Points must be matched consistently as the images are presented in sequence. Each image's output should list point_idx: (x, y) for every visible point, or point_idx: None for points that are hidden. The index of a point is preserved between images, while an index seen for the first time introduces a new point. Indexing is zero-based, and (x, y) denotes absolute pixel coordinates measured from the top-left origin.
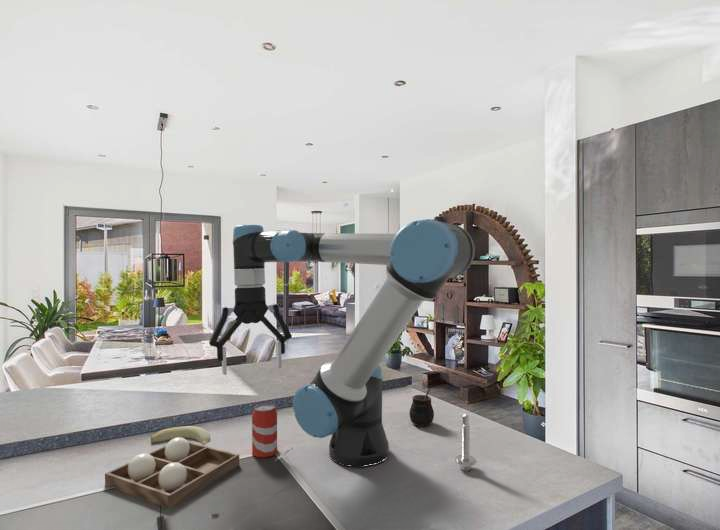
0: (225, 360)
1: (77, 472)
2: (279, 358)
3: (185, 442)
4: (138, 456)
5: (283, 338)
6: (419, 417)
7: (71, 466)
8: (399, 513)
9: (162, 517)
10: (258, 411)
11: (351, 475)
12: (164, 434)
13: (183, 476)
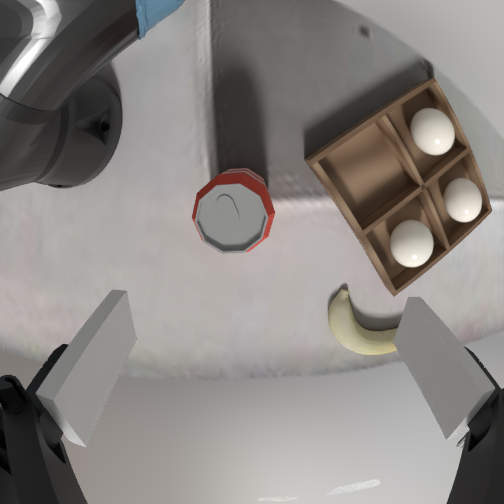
0: (448, 339)
1: (489, 270)
2: (98, 320)
3: (408, 239)
4: (479, 201)
5: (8, 409)
6: None
7: (488, 290)
8: None
9: (428, 73)
10: (258, 195)
11: (118, 54)
12: None
13: (421, 112)
